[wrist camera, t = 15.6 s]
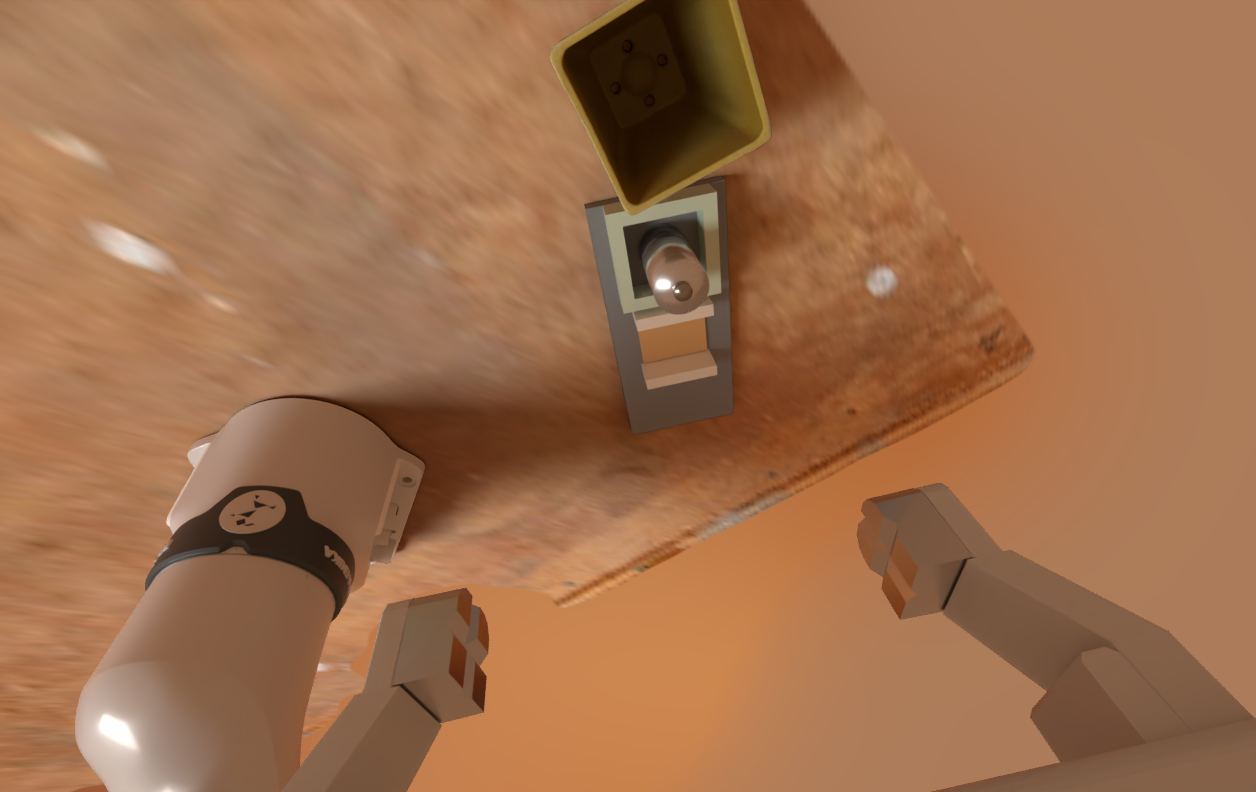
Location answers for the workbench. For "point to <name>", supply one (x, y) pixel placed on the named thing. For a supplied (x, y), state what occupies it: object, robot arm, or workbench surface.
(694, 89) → the flower pot
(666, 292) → the cell
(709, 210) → the pale green flat frame
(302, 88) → the workbench surface
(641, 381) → the board
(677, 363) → the cradle
